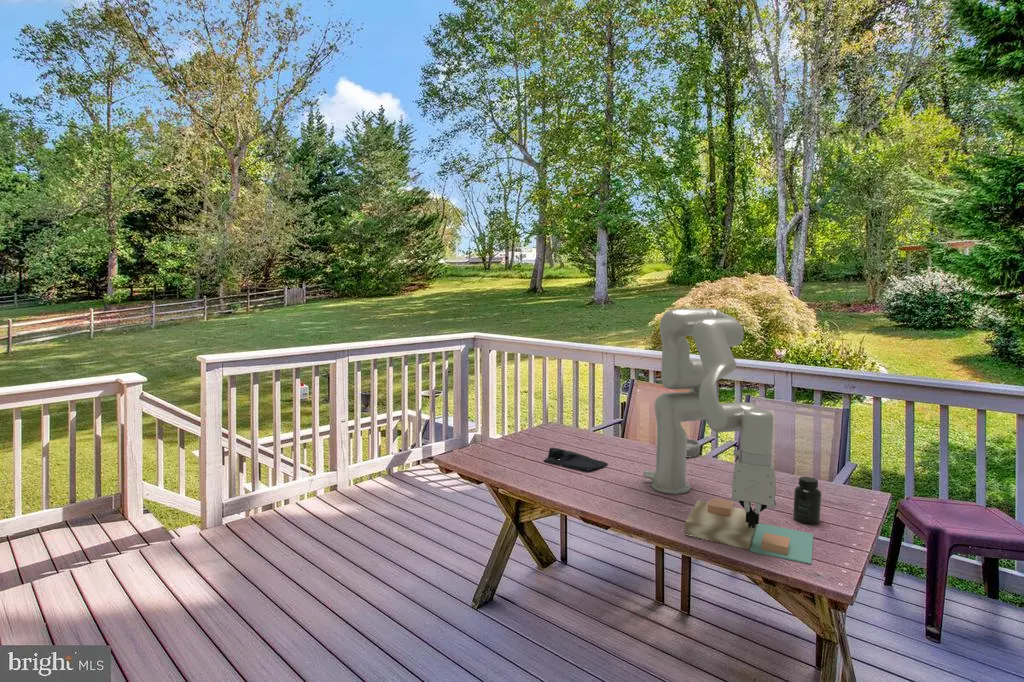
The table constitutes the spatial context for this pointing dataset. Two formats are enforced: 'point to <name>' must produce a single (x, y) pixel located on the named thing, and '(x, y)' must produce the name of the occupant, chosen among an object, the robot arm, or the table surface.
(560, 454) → the black folded cloth
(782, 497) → the table surface
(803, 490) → the supplement bottle
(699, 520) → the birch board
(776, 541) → the tile
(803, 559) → the rubber mat
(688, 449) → the dish
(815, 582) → the table surface
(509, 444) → the table surface
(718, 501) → the tile
